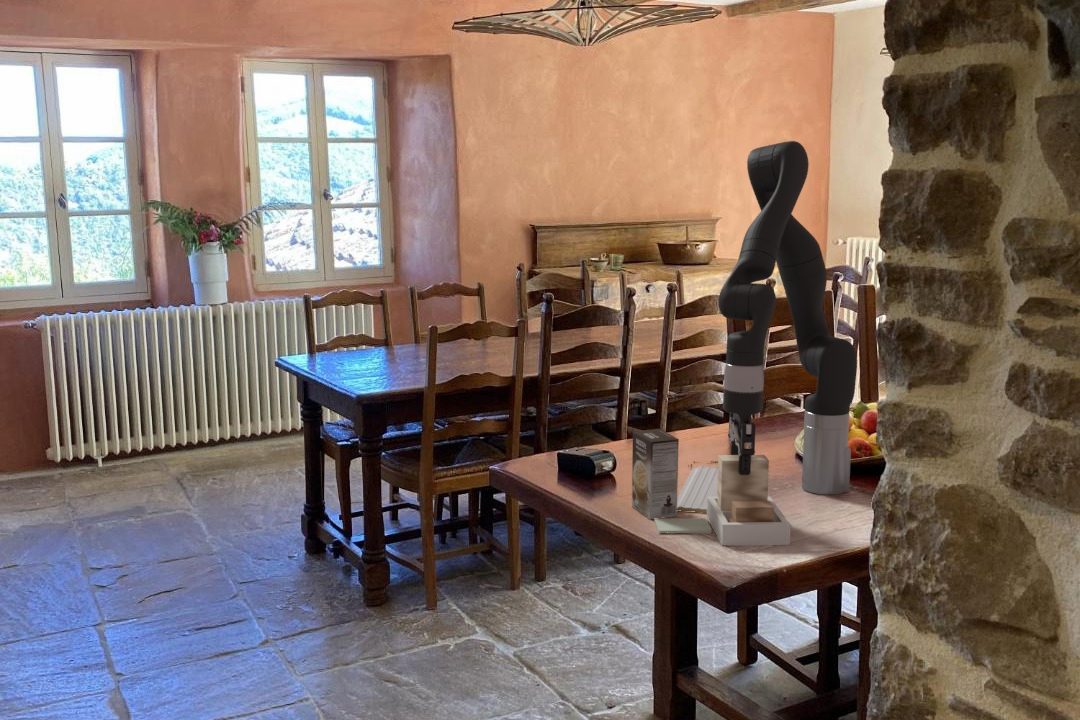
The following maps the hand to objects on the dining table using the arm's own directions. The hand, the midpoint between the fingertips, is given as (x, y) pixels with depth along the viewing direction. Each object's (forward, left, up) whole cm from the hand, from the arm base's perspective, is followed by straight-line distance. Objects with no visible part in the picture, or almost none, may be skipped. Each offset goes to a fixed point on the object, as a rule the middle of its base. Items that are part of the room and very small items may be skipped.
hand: (740, 468), depth 202 cm
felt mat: (+11, +3, -11) cm, 16 cm away
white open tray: (-1, +5, -11) cm, 12 cm away
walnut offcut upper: (-1, +10, -8) cm, 13 cm away
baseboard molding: (+3, -21, -12) cm, 24 cm away
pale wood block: (-1, 0, -11) cm, 11 cm away
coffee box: (+16, -7, -11) cm, 20 cm away
